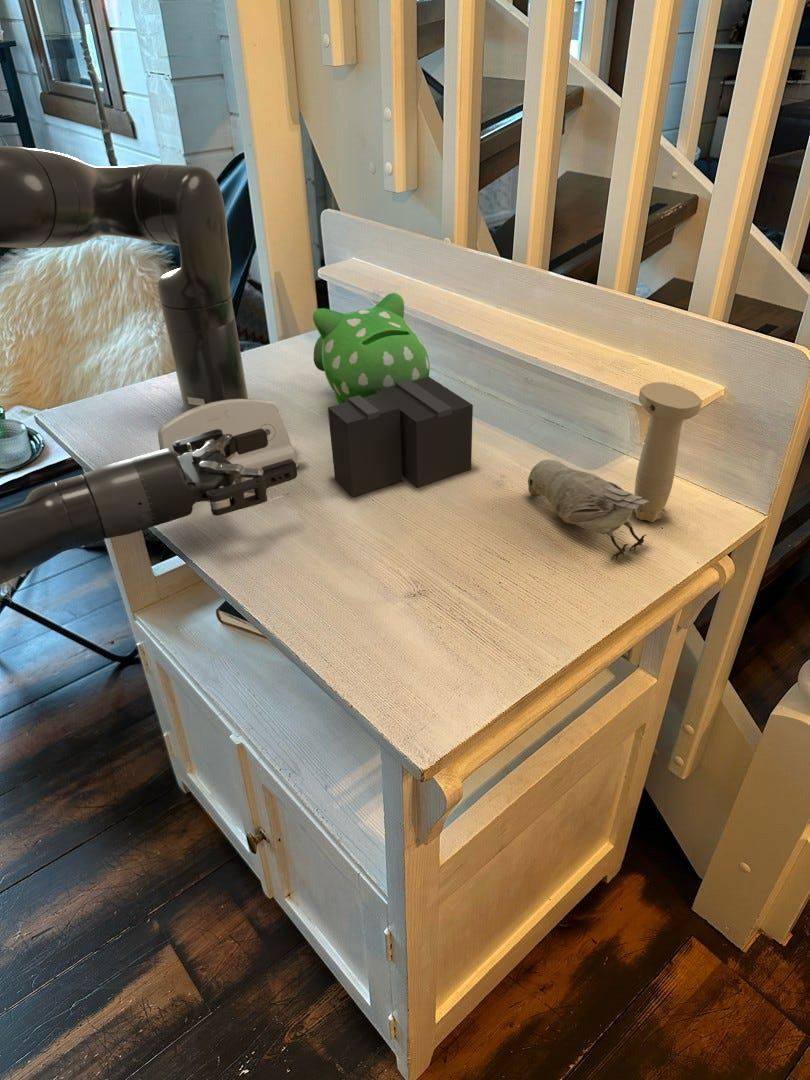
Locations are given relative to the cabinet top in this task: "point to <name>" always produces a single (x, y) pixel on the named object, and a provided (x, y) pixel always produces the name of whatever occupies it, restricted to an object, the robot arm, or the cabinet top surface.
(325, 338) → the piggy bank
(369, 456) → the black box
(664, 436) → the handle
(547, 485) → the decorative bird
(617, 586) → the cabinet top surface
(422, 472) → the black taped box
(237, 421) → the white wall mount bracket
